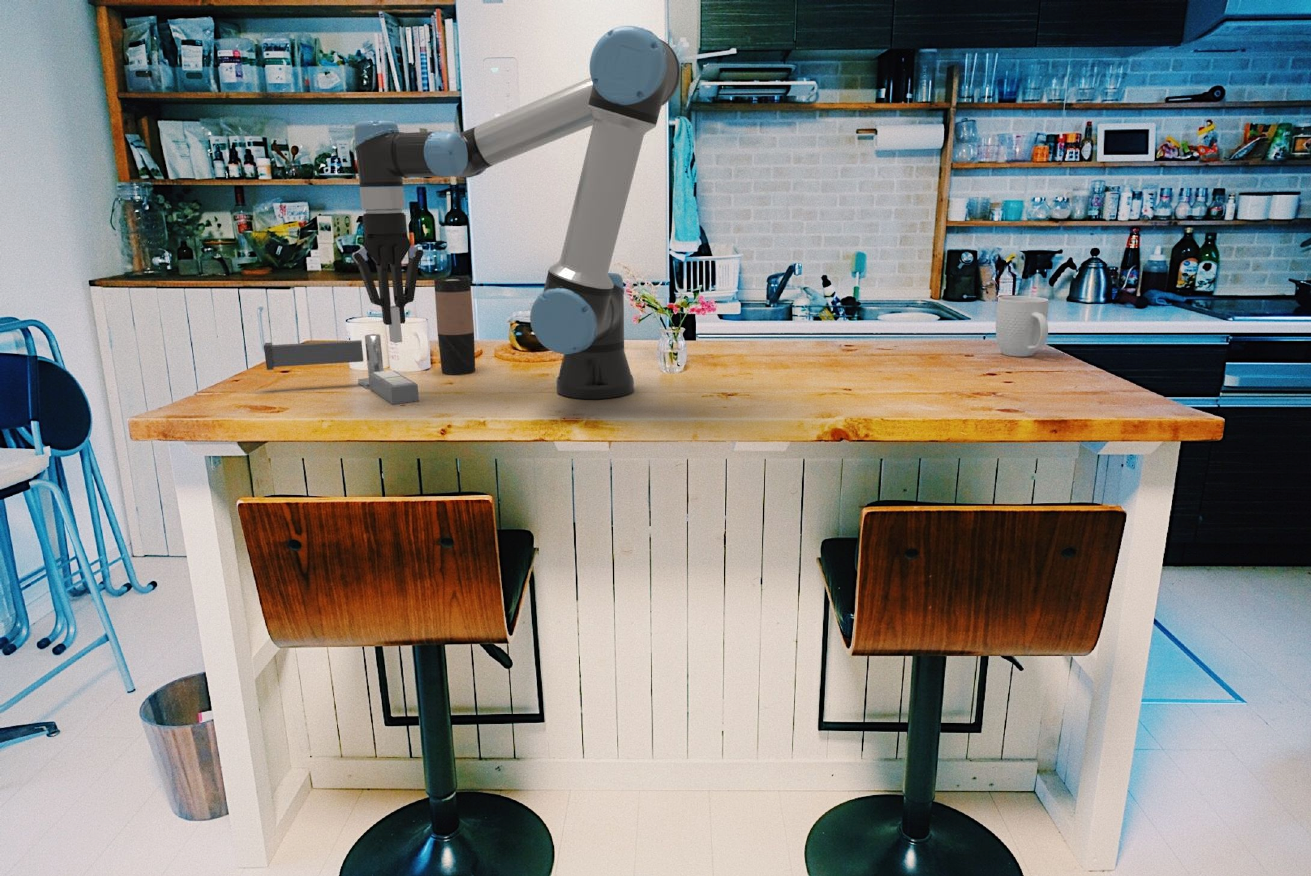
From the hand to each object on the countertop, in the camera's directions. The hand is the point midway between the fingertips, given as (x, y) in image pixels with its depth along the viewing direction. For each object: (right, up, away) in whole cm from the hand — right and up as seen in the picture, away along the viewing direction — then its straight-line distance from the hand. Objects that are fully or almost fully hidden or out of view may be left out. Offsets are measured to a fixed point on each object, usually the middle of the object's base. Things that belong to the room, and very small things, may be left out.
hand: (396, 341), depth 167 cm
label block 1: (-4, -9, +8) cm, 13 cm away
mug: (+134, +1, +41) cm, 140 cm away
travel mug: (+6, -4, +26) cm, 27 cm away
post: (-8, -7, +15) cm, 19 cm away
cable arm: (-19, -4, +10) cm, 22 cm away
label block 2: (0, -11, +3) cm, 11 cm away
